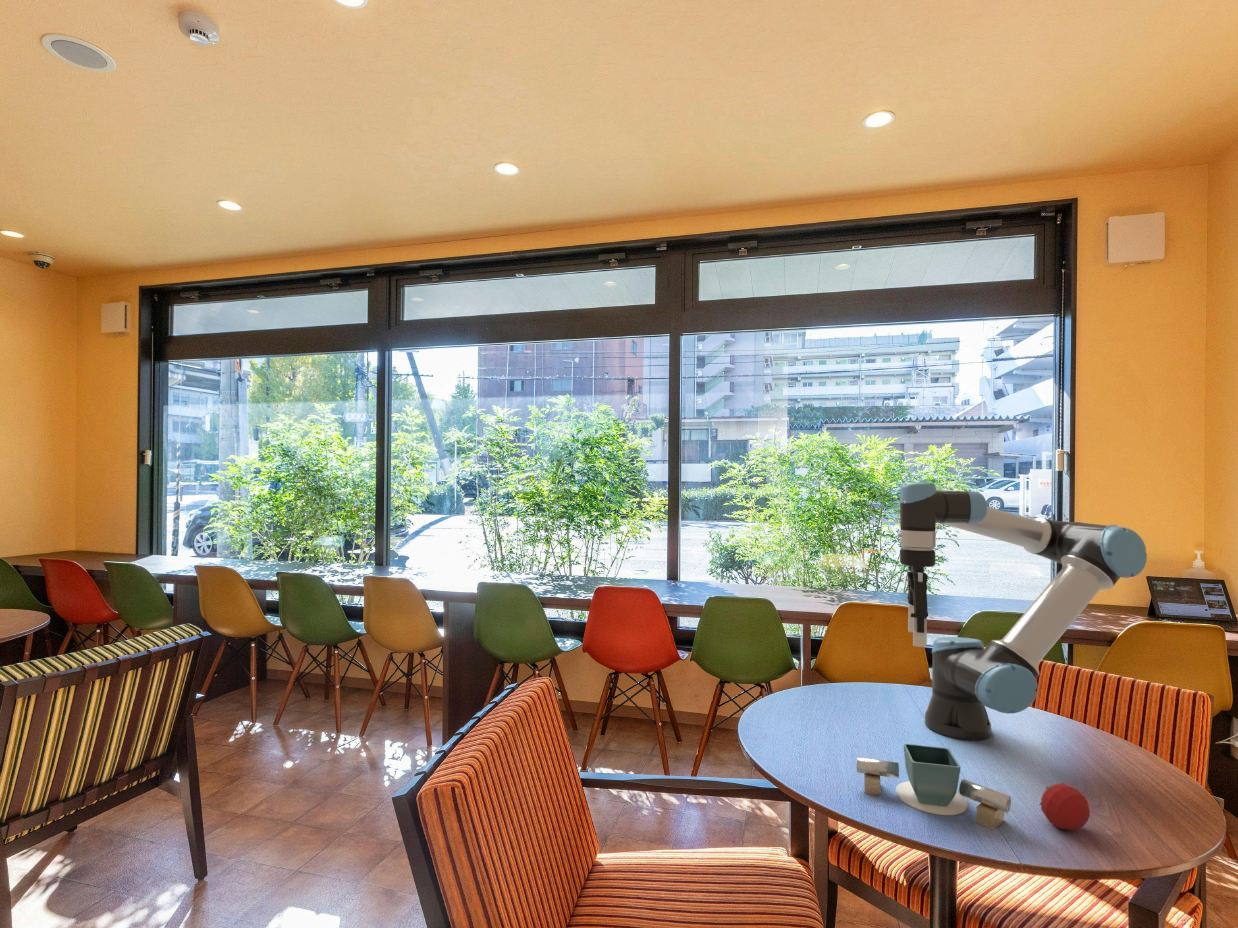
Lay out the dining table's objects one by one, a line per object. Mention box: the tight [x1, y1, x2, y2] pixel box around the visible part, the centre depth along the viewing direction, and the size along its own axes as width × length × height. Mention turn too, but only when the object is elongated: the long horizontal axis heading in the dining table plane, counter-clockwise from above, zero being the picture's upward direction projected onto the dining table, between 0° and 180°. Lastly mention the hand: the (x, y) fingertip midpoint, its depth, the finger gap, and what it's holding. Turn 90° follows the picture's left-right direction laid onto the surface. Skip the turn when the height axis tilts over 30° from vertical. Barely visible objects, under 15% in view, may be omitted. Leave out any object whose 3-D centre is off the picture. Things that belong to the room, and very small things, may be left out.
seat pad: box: [895, 780, 969, 817], centre depth 129 cm, size 13×13×1 cm
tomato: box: [1039, 783, 1091, 831], centre depth 119 cm, size 8×8×8 cm
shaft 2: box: [958, 779, 1012, 830], centre depth 121 cm, size 8×5×6 cm, turn 40°
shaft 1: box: [856, 756, 900, 796], centre depth 132 cm, size 8×5×6 cm, turn 70°
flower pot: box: [902, 743, 962, 806], centre depth 128 cm, size 9×9×9 cm
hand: (917, 639), depth 150 cm, fingers open, 13 cm apart
